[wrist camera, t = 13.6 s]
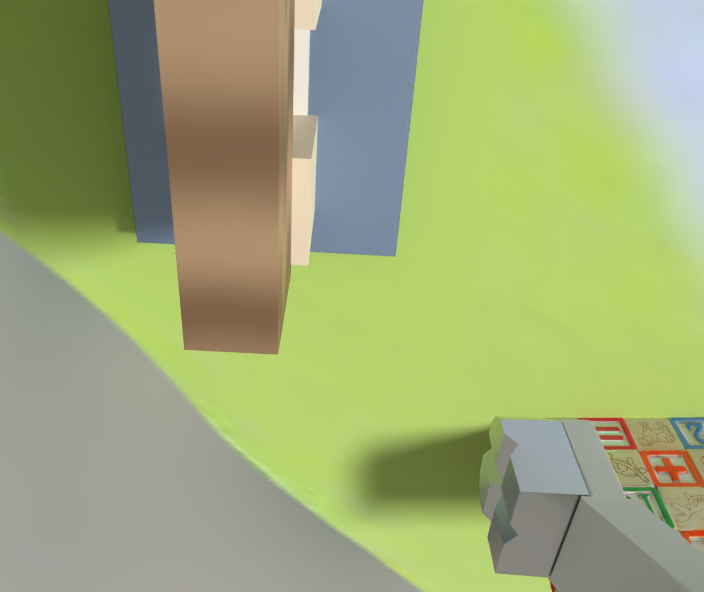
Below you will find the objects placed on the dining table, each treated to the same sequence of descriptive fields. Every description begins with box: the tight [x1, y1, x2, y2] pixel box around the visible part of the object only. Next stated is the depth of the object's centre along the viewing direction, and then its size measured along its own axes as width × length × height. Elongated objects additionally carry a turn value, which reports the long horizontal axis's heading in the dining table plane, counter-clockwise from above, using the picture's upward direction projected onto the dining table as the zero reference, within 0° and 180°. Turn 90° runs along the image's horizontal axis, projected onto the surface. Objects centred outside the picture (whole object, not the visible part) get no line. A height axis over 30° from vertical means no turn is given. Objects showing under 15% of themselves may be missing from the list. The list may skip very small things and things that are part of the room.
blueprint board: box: [108, 0, 423, 266], centre depth 29 cm, size 20×14×8 cm
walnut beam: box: [154, 0, 295, 354], centre depth 23 cm, size 16×4×6 cm, turn 176°
